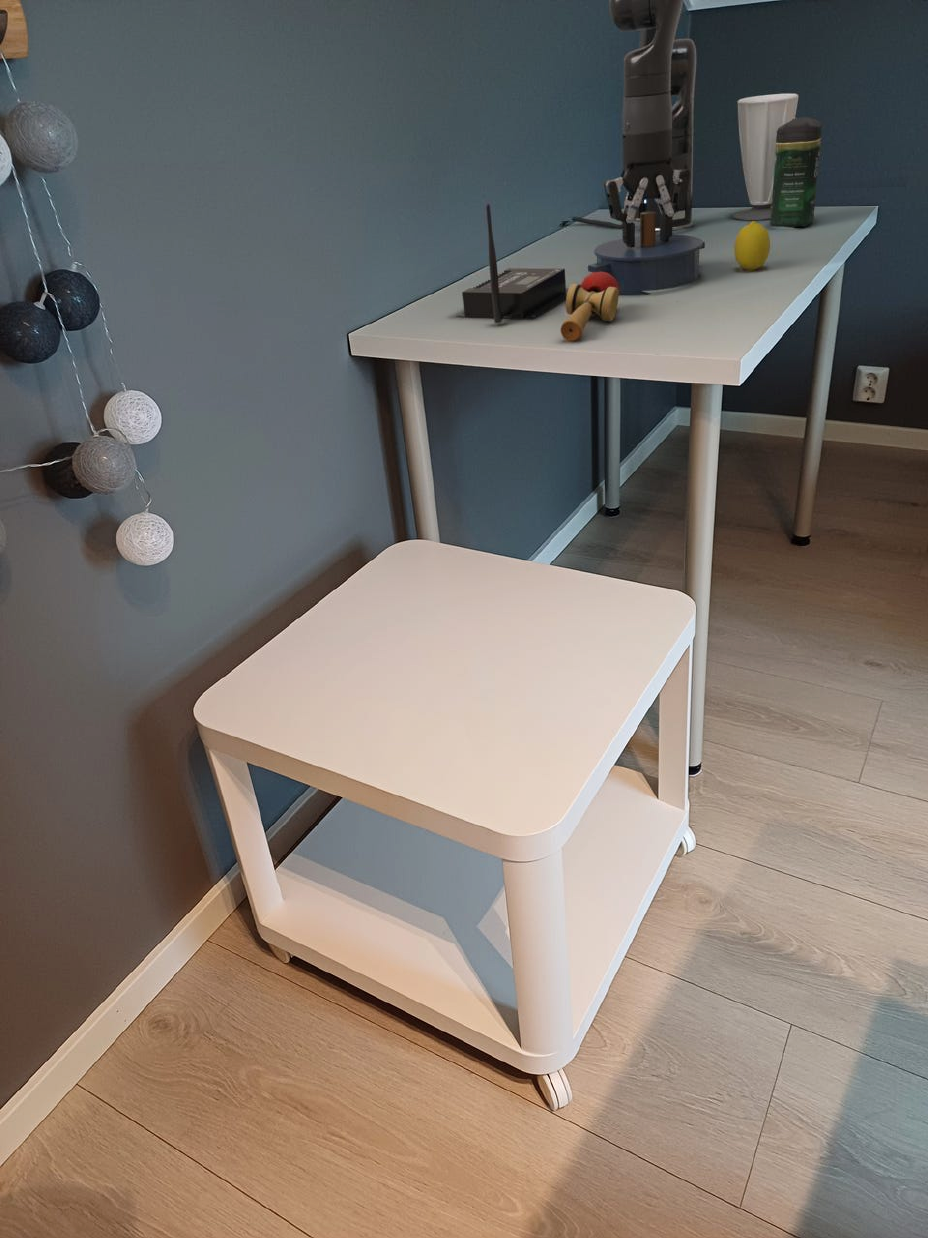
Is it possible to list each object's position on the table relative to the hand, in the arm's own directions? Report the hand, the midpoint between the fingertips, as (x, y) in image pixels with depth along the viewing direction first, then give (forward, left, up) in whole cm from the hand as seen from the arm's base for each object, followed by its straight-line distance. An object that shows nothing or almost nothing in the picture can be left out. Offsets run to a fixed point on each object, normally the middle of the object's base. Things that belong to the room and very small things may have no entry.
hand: (647, 243), depth 154 cm
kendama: (+14, -21, -6) cm, 26 cm away
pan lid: (0, 0, -1) cm, 1 cm away
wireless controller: (-4, -24, -6) cm, 25 cm away
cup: (-28, +50, -6) cm, 58 cm away
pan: (0, 0, -6) cm, 6 cm away
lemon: (+9, +14, -6) cm, 18 cm away
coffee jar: (-15, +46, -6) cm, 49 cm away
